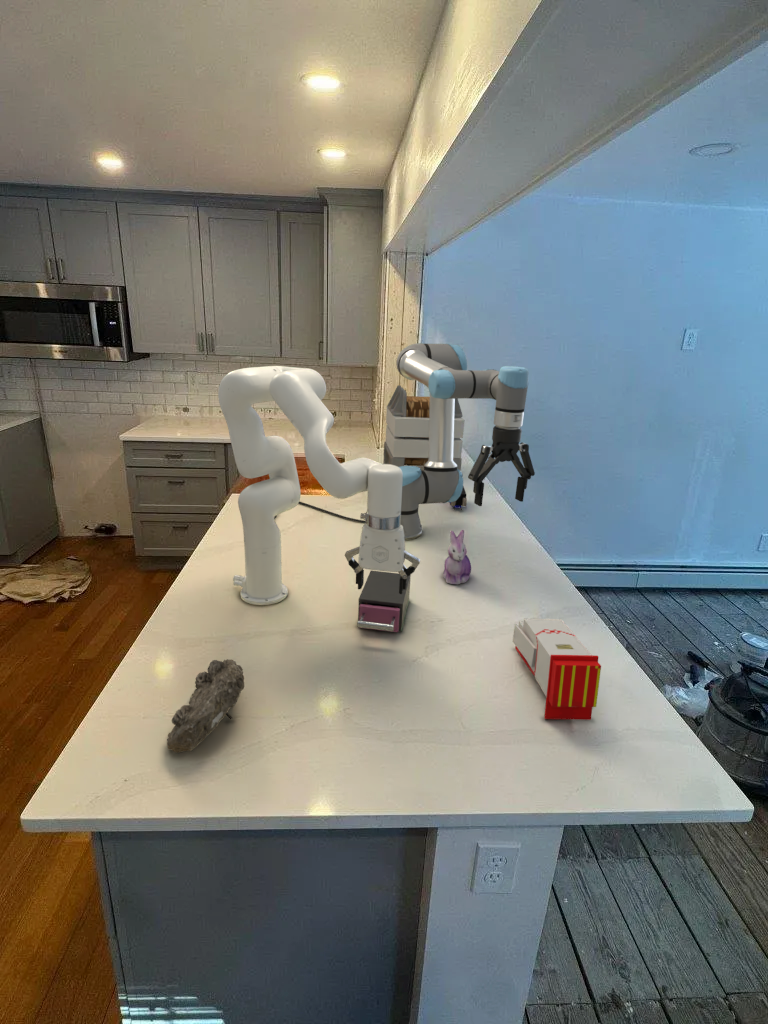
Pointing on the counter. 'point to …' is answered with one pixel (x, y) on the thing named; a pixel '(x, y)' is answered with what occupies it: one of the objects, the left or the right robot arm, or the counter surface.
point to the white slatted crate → (414, 430)
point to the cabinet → (386, 592)
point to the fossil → (206, 705)
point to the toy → (559, 667)
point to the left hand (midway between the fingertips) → (380, 589)
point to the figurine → (457, 560)
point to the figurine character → (460, 500)
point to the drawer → (379, 617)
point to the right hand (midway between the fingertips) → (498, 502)
